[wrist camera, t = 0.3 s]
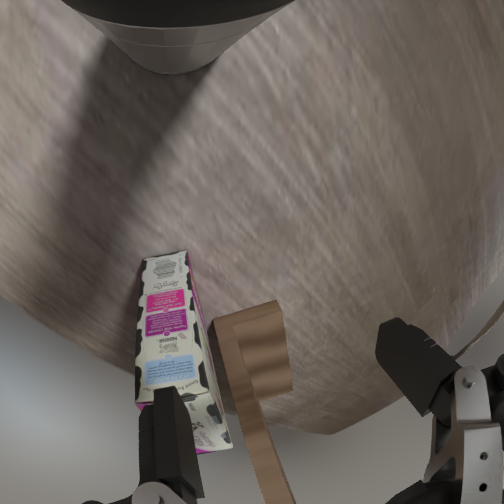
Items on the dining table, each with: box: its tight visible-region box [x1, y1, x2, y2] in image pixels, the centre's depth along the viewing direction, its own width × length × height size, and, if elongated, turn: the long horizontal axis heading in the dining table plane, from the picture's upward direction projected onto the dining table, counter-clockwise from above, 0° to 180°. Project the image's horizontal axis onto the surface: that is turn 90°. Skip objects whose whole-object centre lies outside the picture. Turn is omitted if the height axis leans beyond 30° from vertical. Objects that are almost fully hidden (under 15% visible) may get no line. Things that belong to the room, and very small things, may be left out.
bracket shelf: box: [213, 300, 296, 504], centre depth 27 cm, size 20×12×32 cm, turn 10°
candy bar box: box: [135, 250, 233, 454], centre depth 24 cm, size 11×5×16 cm, turn 5°
